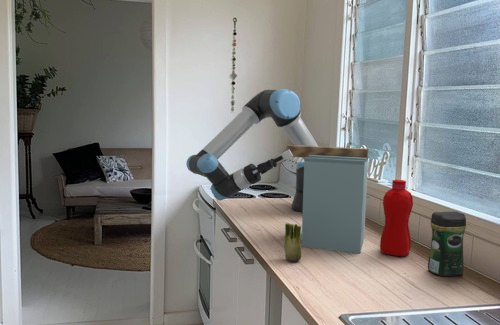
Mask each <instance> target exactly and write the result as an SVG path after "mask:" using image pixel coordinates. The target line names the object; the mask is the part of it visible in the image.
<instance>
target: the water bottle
mask: <svg viewBox="0 0 500 325" xmlns="http://www.w3.org/2000/svg"><path fill="white" fill-rule="evenodd" d="M406 185H407V181H406V180H404V179H392V184H391V189H389V190H387V191H386V192H385V194H384V195H383V200H382V207H383V208H382V209H383V212H384V225H383V229H382V233H381V235H380V236H381V237H380V241H379V242H380V243H379V249H380V252H382V253H383V254H384V255H389V256H395V257H399V256H401V257H406V256H408V254H409V253H410V252H411V247H412V245H411V244H412V243H411V242H412V238H411V234H410V226H409V220H410V216H411V213H412V210H413V206H414V197H413V195H412V192H410V191H409V190H407V188H406V187H407V186H406Z"/></svg>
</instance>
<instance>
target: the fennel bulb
mask: <svg viewBox="0 0 500 325" xmlns="http://www.w3.org/2000/svg"><path fill="white" fill-rule="evenodd" d="M284 226H285V228H284V229H285V231H284V232H285V234H284V255H285V258H286V260H287V261H288V262H290V263H297V262H299V261H301V259H302V247H301V244H302V242H301V233H302V225H298V224H297V223H294V224H293V223H290V222H286V223H285V225H284Z"/></svg>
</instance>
